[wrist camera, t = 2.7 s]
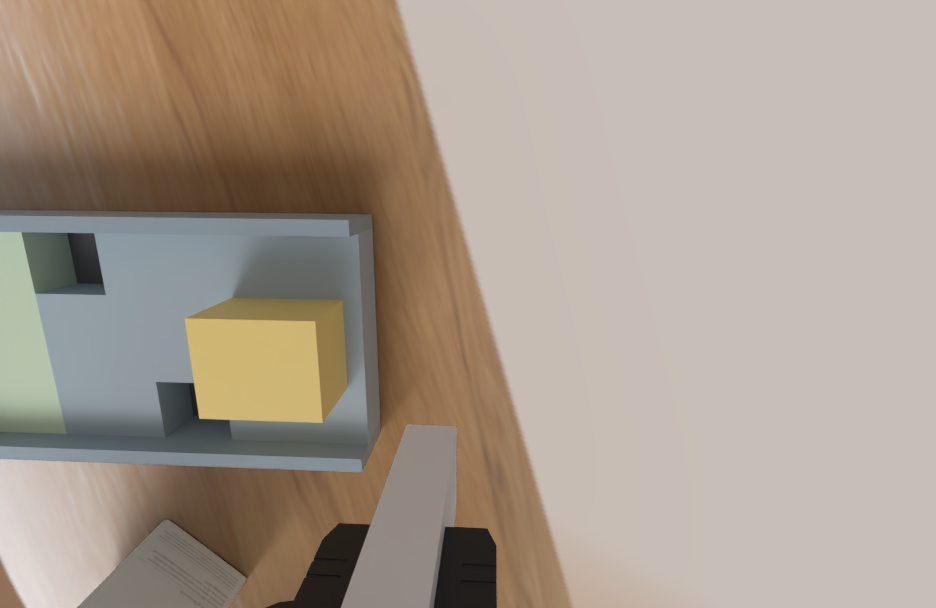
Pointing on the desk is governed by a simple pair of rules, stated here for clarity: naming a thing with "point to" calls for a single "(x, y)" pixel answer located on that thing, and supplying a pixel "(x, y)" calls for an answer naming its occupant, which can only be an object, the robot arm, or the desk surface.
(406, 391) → the desk surface
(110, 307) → the tray
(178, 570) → the supplement box
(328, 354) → the block
